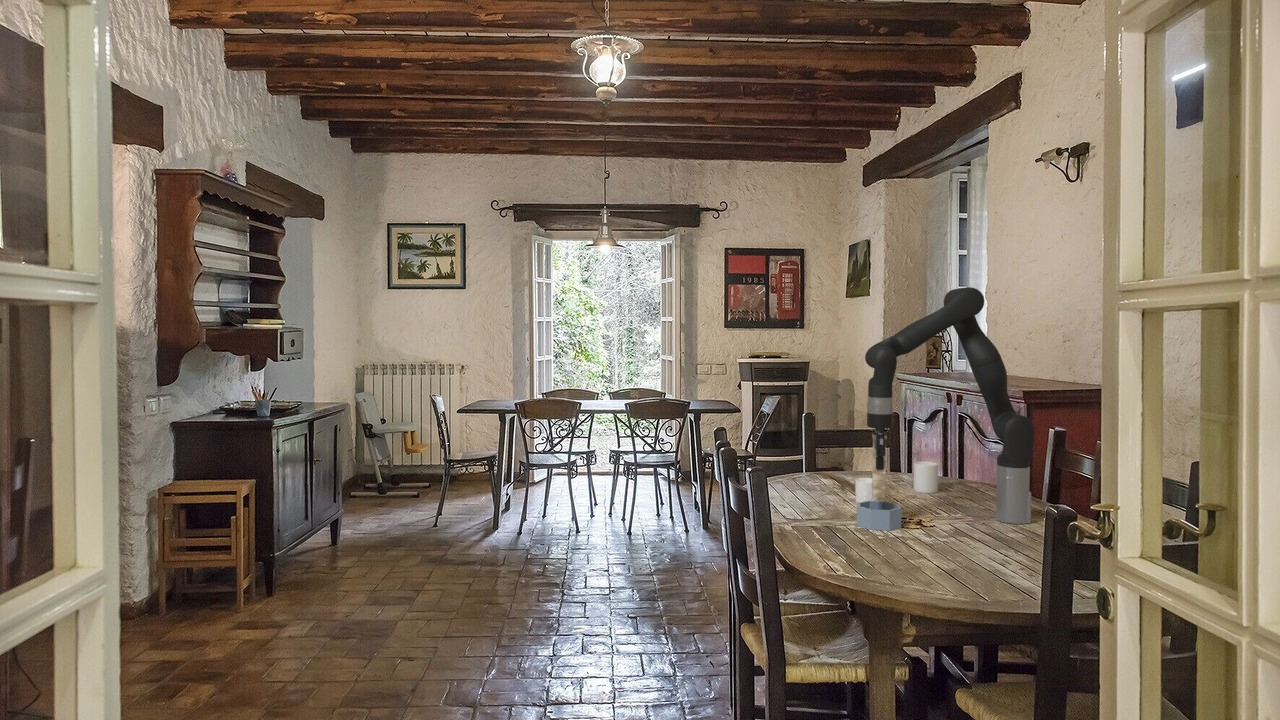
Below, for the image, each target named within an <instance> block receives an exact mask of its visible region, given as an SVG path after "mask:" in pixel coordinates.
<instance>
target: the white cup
mask: <svg viewBox="0 0 1280 720" xmlns="http://www.w3.org/2000/svg"><path fill="white" fill-rule="evenodd" d="M854 490H855V491H854V492H855V503H856V505H857V503H858V502H863V501H880V500H879V499H880V497H873V496H872V477H857V478H855V479H854Z"/></svg>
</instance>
